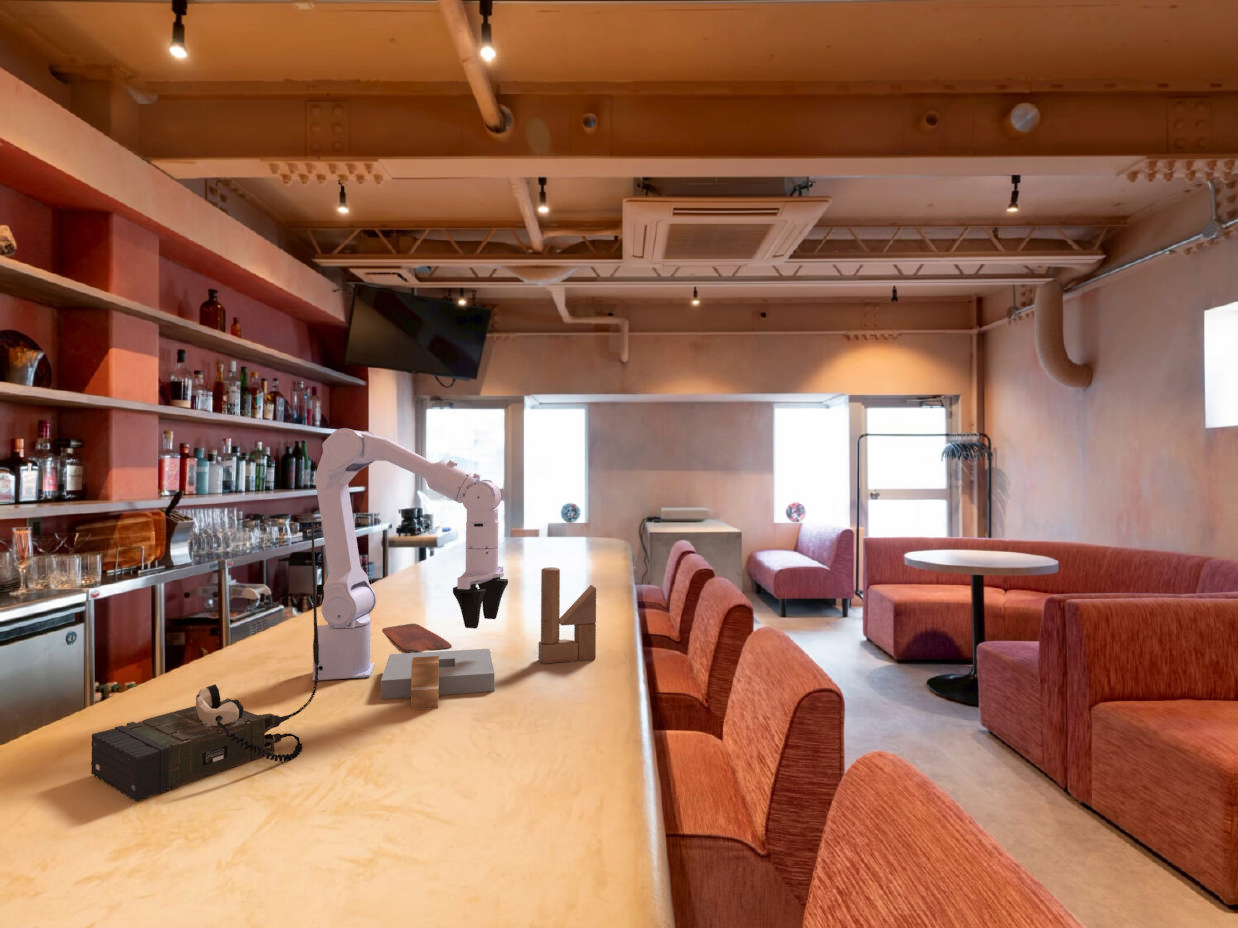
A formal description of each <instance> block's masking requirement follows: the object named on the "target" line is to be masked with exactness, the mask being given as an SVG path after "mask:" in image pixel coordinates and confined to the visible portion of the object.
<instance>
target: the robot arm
mask: <svg viewBox="0 0 1238 928" xmlns="http://www.w3.org/2000/svg"><path fill="white" fill-rule="evenodd" d="M321 444H322V445H321V446H322V455H321V457H320V460H319V463H318V465H317V467H316V472H315V476H314V481H315V487H316V494H317V500H318V507H319V513H320V514H319V515H320V520H321V521H320V522H321V525H322V526H321V527H322V533H323V540H324V546H325V554H326V559H327V566H328V572H329V573H328V575H327V578H326V581H325V583H324V585H323V588H322V589H323V599H322V603H321V608H320V609H321V610H320V611H321V615H322V618H323V620H324V621H326V623H327V624H320V625H317V628H318V644H319V664H318V668H319V669H318V681H327V680H328V681H329V680H341V679H343V680H344V679H356V678H357V679H359V678H360V679H361V678H369V677H371V674H372V672H373V671H374V667H375V662H371V621H372V620H371V617H370V615H371V614H370V613H372V612H373V610H374V609H375V606H376V605H377V604H376V603H377V595H376V592H375V590H374V589H373V588H372V586H371V584H370V580H369V576H368V574H367V573H366V571H364V569H363V568H362V567H361V559H360V553H359V548H358V546H359V545H358V541H357V540H358V539H357V534H356V527H355V522H354V521H355V520H354V515H353V514H354V513H353V507H352V502H351V495H350V489H349V484H350V482H351V481H352V480H353V478H355V476H356V475H357V474H358V473H359V472H360V471H361V470H363V469H365V468H367V467H368V466H370V465H371V464H373V463H374V462H389V463H391V464H392V465H395V466H397V467H399V468H401V469H404V470H406V471H408V472H410V473H413V474H415V475H417V476H419V477H422V478H424V479H425V481H426V484H427V486H428V489H429V490H432V491H434V492H436V493H438V494H440V495H442V496H444V497H446V498H448V499H450V500H452V501H454V502H456V503H458V504H462V505H463V507H464V508H465V510H466V523H465V571H464V572H463V573H462V575H460V576H459V577H457V584H456V585H457V586H454V587H452V594H453V595H454V597H455V598H456V601H457V603H458V606H459V608H460V612H461V616H462V619H463V625H464V628H465V629H477V628H478V626H479V623H480V617H481V608H482V613H483V618H484V619H485V620H496V619H497V616H498V612H499V609H500V604H501V600H502V597H503V595H504V592H505V589H506V588H507V587H508V584H509V579H508V578H504V575H505V572H504V566H499V508H498V506H500V504H501V502H502V492H501V489H500V487H499V486H498V485H497V484H496V483H494V481H492V480H490V479H482V480H481V479H480V478H481V474H479V473H477V472H475V473H473V474H472V473H471V472H470V471H466V470H465V469H463V468H461V467H459V466H458V464H459V463H458V462H456V461H454V460H452V459H451V460H448V461H447V460H440V461H436V462H433V461H431V460H429V459H427V458H425V456H422V455H420V454H418V453H416V452H414V451H413V450H411V449H408V448H407V447H405V446H403V445H402V444H400V443H398V442H397V441H394V440H392V439H390V438H387V437H385V436H381V435H379V434H378V435H377V434H374V433H373V432H371V431H368V430H354V429H350V428H348V427H347V428H346V427H344V428H343V427H342V428H339V429H336V430H334V431H332V433H331V434H330V435H329V436H327V438H326V439H325V440H324V441H323V442H322V443H321ZM312 656H313V657H312V659H313V661H312V662H313V663H312V665H313V666H312V677H311V678H312V679H311V680H312V681H315V674H316V673H315V671H316V670H317V669H316V670H315V665H316V664H315V663H314V655H313V654H312ZM316 668H317V665H316ZM316 676H317V674H316Z"/></svg>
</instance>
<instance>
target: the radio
mask: <svg viewBox="0 0 1238 928" xmlns="http://www.w3.org/2000/svg"><path fill="white" fill-rule="evenodd" d="M310 523H311V568H312V569H311V570H312V571H311V572H312V598H313V601H312V604H313V640H312V641H313V644H312V656H313V655H314V663H315V664H316V665H317V668H316V665H315V670H316V669H317V670H316V671H315V673H316V674H317V676H316V674H315V680H313V681H314V682H313V683H314V685H313V689H312V691H311V695H310V697H309V699H308V700H307V702H305V704H303V706H301V707H300V708H299V709H298V710H296V711H294V712H292V713H290V714H287V715H283V716H280V715H277V714H272V713H264V714H256V713H252V712H250V711H247V710H244V706H243V704H242V703H241V701H239V699H238V698H237V699H232V698H228V697H227V698H226V699H224V700H222V701H221V695H220V690H219V687H218V686H217V684H216V683H215V684H212V685H208V686H206V687H204V688H201V689H200V690H199V691H198V693H197V694H196V695H195V705H194V706H190V707H186V708H183V709H178V710H175V711H171V712H168V713H164V714H163V713H162V714H161V715H160V714H159V715H157V716H153V717H149V718H146V719H143V720H142V721H138V722H134V721H130V722H127V723H126V725H118V726H115V727H114V728H110V729H105V730H103V731H99V732H98V731H97V732H94V733H92V734H91V740H92V741H91V763H90V765H91V770H90V771H91V772H90V773H91V775H92V776H94V777H95V778H98V779H99V780H102V781H103V783H106V784H107V785H108V786H111V787H112V788H115V789H116V791H120V793H121V794H125V796H126V797H129V798H130V799H131V800H132V799H133V800H134V801H135V802H137V801H140V800H143V799H146V798H149V797H152V796H153V795H156V794H162V793H166V792H168V791H169V790H170V789H171V790H172V791H173V790H176V789H178V788H180V785H183V784H187V783H192V782H195V781H199V780H201V779H204V778H207V777H210V776H212V775H216V774H218V773H219V772H223V771H226V770H229V769H232V768H235V767H237V766H240V765H243V764H245V763H248V762H249V761H254V760H257V759H259V758H262V757H265V759H266V760H270V761H274V762H278V761H279V763H281V762H282V761H283V762H284V763H285V762H287V761H292V760H294V759H295V758H296V757H298V756H299V755H300V753H301V752H302V750H303V743H301V741H300V740H301V739H300V736H298V735H295V734H293V733H283V734H281V733H279V732H277V733H275V734H272V733H267V732H269V731H270V730H272V729H275V728H277V727H278V728H279V726H280V725H281V724H282V723H283V722H285V721H287V720H288V721H289V719H291V718H292V717H295V716H296V715H298V714H300V713H301V712H302V711H304V710H305V708H307V707H308V706H309V705H310V704H311V702H312V701H313V699H314V697H315V695H316V692H317V689H318V683H319V680H318V669H319V668H318V664H319V644H318V628H317V626H318V616H317V615H318V613H317V611H318V610H317V586H316V585H317V583H316V581H317V580H316V556H315V551H316V550H315V529H314V521H311V522H310ZM288 737H293V739H295V741H296V745H295V746H294V750H293V752H290V753H286V754H284V753H282V754H281V753H279V754H275V753H274V752H275V748H276V747H275V744H276V743H279V742H281V740H282V739H283V738H288Z"/></svg>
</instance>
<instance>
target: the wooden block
mask: <svg viewBox="0 0 1238 928" xmlns="http://www.w3.org/2000/svg"><path fill="white" fill-rule="evenodd" d="M540 574H541V578H540V583H541V584H540V587H541V588H540V595H541V596H540V641H538V654H537V655H538V657H537V658H538V660H539V661H540V663H541V664H543V665H544V664H557V663H558V664H559V663H569V662H577V661H578V662H584V661H594V660H596V658H597V656H596V654H597V653H596V644H597V643H596V640H597V637H596V636H597V629H596V628H597V624H596V623H597V587H596V586H594V585H592V584H590V585H589V586H588V587H587V588H586V589H585V591H583V592H582V594H581V595H580V596H579V597H578V598H577V599H576V600H575V601H574V602H573V604H572V605H571V606H570V607H569V608H568V609H567V610H566V611H565V612H564V613H563V614H562V615H561V616H560V610H561V609H560V608H561V607H560V606H561V605H560V603H561V601H560V600H561V599H560V598H561V593H560V592H561V589H560V588H561V570H560V568H559V567H553V566H552V567H543V568H541V573H540ZM560 626H573V627H574V629H573V630H574V632H573V637H574V639H565V638H563V639H560Z"/></svg>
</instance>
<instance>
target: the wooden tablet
mask: <svg viewBox="0 0 1238 928" xmlns="http://www.w3.org/2000/svg"><path fill="white" fill-rule="evenodd" d="M381 632H382V633H383V634H384V635H385V636H387V638H390V639H391V641H393V643H394V644H395V645H396V646H398V648H400V649H401V651H403V653H420V652H436V651H443V650H444V651H445V650H449V649H451V648H452V644H451V643H450V642H449V641H447V639H444V638H443V637H441V636H440V635H438V634H437V633H434V632H432V631H431V630H429V629H427V628H425V627H423V626H421V625H419V624H417V623H408V624H407V623H406V624H400V625H396V626H395V625H394V626H388V627H383V628H382V630H381Z"/></svg>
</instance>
